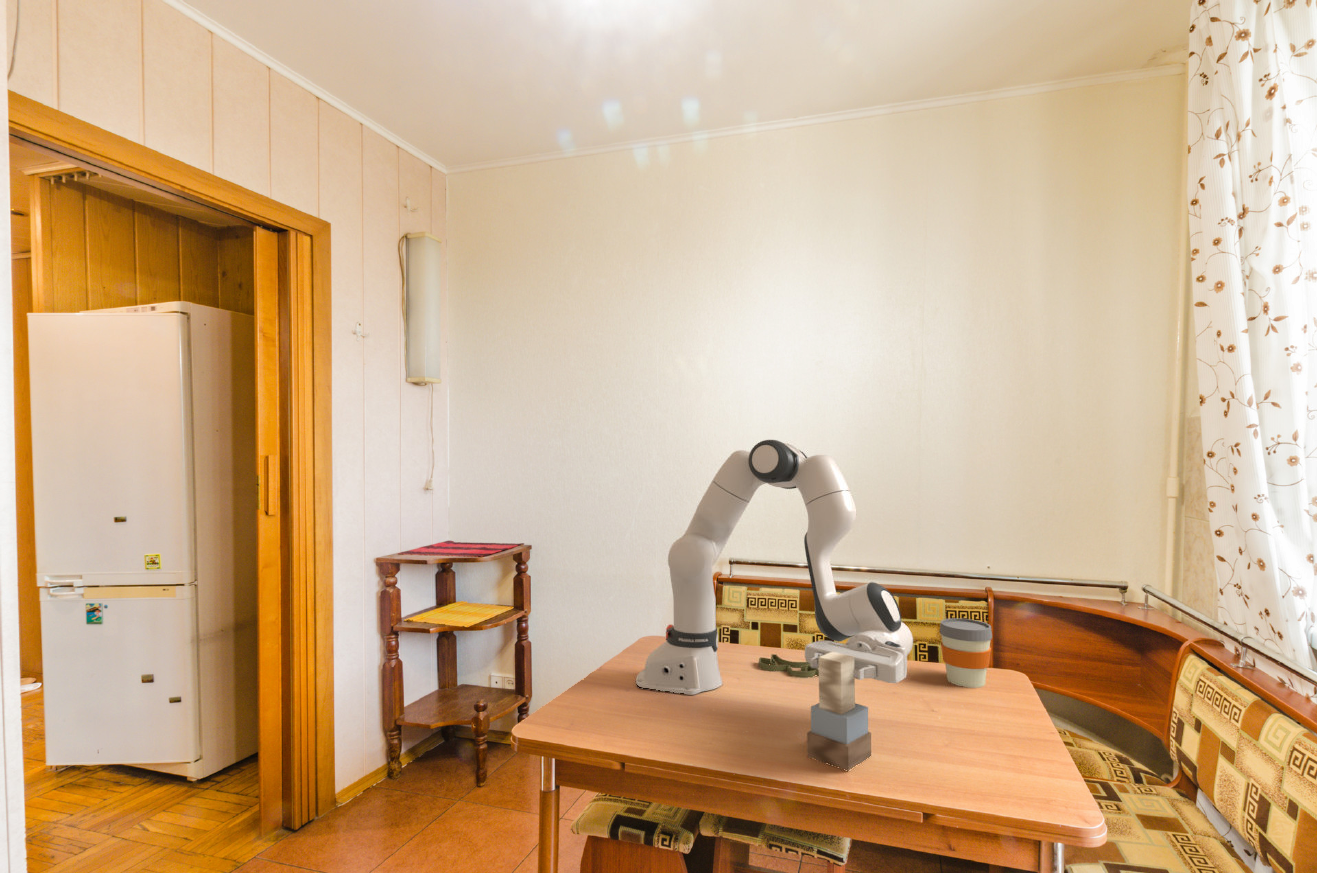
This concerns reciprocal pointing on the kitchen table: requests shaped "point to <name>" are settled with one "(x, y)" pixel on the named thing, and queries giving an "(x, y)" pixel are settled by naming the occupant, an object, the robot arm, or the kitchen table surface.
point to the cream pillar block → (836, 682)
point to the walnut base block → (839, 750)
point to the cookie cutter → (788, 666)
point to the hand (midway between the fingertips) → (834, 669)
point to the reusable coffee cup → (966, 651)
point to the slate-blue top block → (840, 723)
